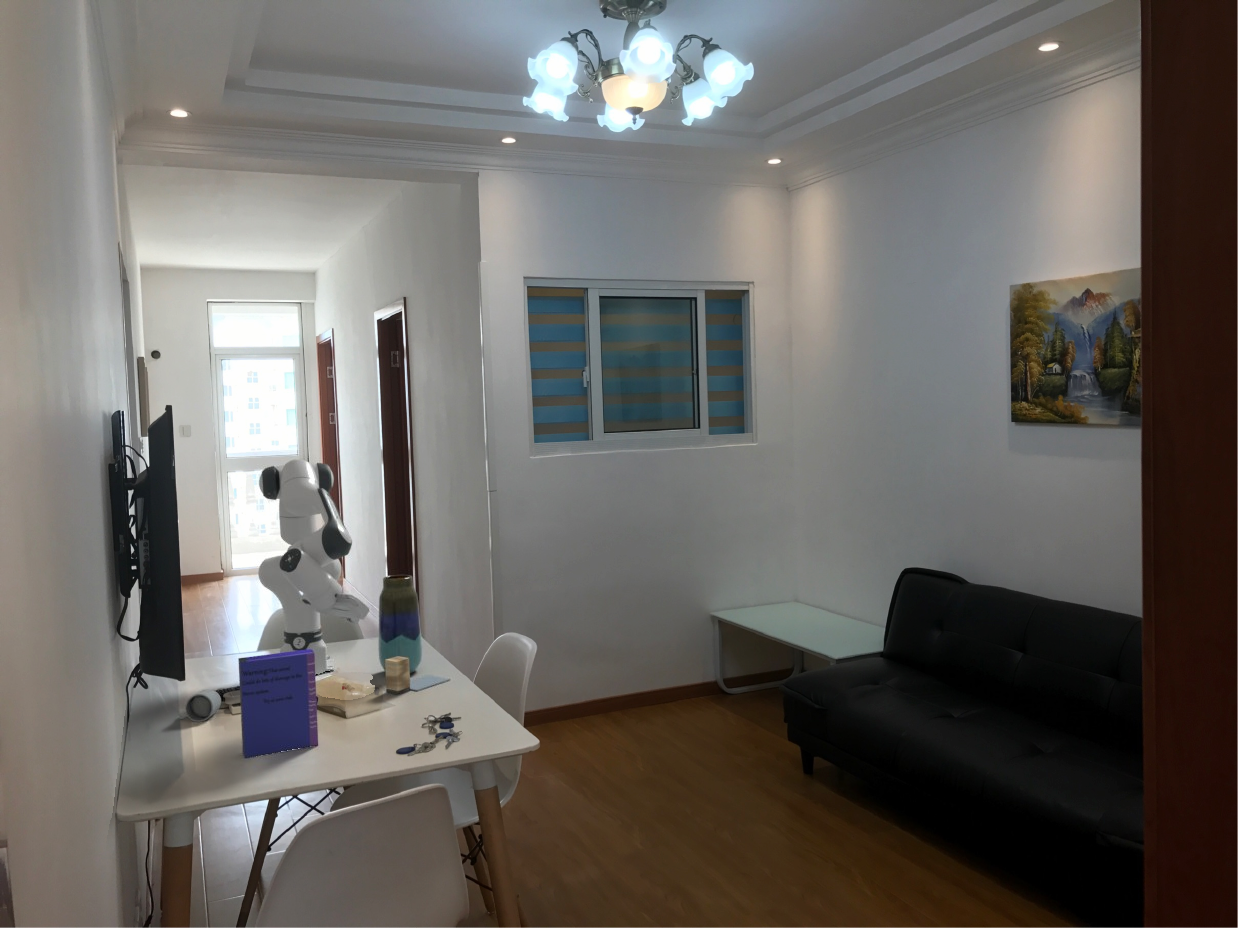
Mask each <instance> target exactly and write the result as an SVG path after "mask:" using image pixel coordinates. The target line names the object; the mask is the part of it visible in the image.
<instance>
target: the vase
mask: <svg viewBox="0 0 1238 928" xmlns="http://www.w3.org/2000/svg"><path fill="white" fill-rule="evenodd" d="M413 582H414V581H413V576H412V575H410V574H396V575H395V574H394V575H387V576H384V577H383V578H382V590H381V591H380V594H379V597H378V598H379V599H378V638H377V639H378V648H377V649H378V659H379V664H380V666H381V667H382V669H383V670H384V671H385V660H386V659H390V658H393V657H397V656H400V657H405V658H409V669H410V674H412V673H414V672H415V671H416V670H417V669H418V668H419V666H420V665H421V662H422V657H423V643H422V642H423V638H422V628H421V617H420V608H419V607H420V606H419V598H418V593H417V591H416V589H415V588H414V583H413Z"/></svg>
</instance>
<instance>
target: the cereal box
mask: <svg viewBox="0 0 1238 928" xmlns="http://www.w3.org/2000/svg"><path fill="white" fill-rule="evenodd" d="M238 678H239V679H238V680H239V698H240V699H239V701H240V703H239V704H240V723H241V744H242V746H241V747H242V748H241V749H242V755H243V757H244V759H251V758H256V756H257V757H261V755H263V756H267V755H266V754H268V755H273V754H272V753H274V754H279V753H278V752H280V753H282V752H281V751H286V752H288V751H287V750H292V749H297V750H299V749H298V748H303V749H306V748H305V747H309V748H311V747H310V746H315V747H319V733H318V732H319V731H318V730H319V728H318V727H319V726H318V707H317V706H318V705H317V704H318V702H317V686H316V685H317V684H316V683H317V682H316V675H315V655H314V651H313V650H312V649H307V650H299V651H292V652H284V653H280V652H279V653H270V654H262V655H254V656H247V657H239V658H238ZM292 751H293V750H292ZM250 757H251V758H250Z"/></svg>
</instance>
